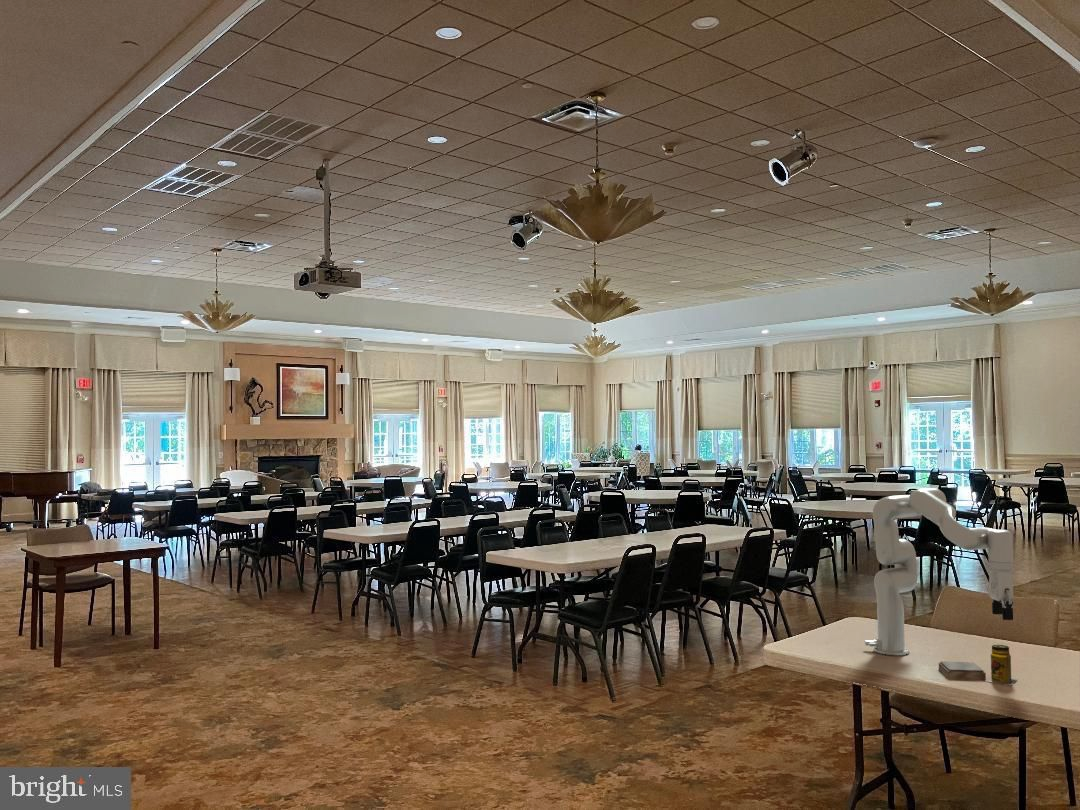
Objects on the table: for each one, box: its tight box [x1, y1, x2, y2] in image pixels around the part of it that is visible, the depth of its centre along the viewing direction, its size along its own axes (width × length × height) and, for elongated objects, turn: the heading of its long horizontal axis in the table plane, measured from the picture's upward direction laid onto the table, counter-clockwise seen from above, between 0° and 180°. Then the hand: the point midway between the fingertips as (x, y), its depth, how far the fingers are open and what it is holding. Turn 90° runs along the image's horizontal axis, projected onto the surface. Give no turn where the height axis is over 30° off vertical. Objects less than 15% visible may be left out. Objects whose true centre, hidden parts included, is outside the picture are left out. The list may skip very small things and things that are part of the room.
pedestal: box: [938, 661, 987, 681], centre depth 314 cm, size 12×12×3 cm
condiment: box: [987, 644, 1018, 686], centre depth 306 cm, size 7×8×12 cm
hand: (1002, 617), depth 308 cm, fingers open, 9 cm apart
